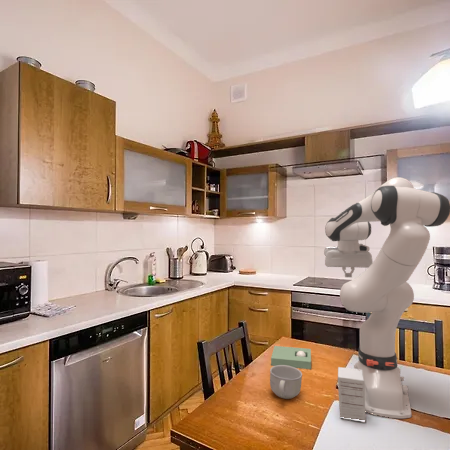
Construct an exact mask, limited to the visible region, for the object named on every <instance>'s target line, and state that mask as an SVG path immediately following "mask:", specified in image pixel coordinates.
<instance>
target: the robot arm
mask: <svg viewBox="0 0 450 450" xmlns="http://www.w3.org/2000/svg"><path fill="white" fill-rule="evenodd" d="M449 217H450V200H449V199H448V197H447V196H445V195H443V194H441V193H439V192H435V191H427V190H422V189H418V188H415V186H414V184H412V182H411V181H410V180H408V179H406V178H403V177H400V176H399V177H393V178H391V179H389V180H387V181H386V182H384V183H382V184H381V185H380V186H378V187H377V189H375V190H374V191H373V192H372V193H371V194H369V195H368V196H367V197H365V198H363V199H361V200H359V201H358V202H356V203H354V204H352V205H350V206H349V207H347V208H346V209H344V210H342V211H341V212H340V213H338V215H337V216H336V217H331V218H330V219H329V220H328V221H327V222H326V225H325V226H324V227H325V228H324V231H325V235H326V237H328V239H329V240H330V241H331V242H337V246H327V247H325V248H324V251H323V252H324V253H323V254H324V256H325V259H324V265H325V266H326V267H327V268H328V267H329V268H341V269H342V271H343V273H344V278H353V273H354V271H355V268H366V269H365V270H363V272H361V273H360V274H359V275H358V276H356V277H355V278H353V279H351V280H349V281H346V282H345V283H343V284H342V286H341V287H340V291H339V299H340V302H341V304H342V306H343V307H344V308H345V309H346V310H347V311H349V312H355V313H363V314H364V313H370V315H369V316H368V318H367V319H366V320H364V322H362V323H361V325H360V327H359V347H358V351H357V355H358V361H357V362H356V363H354V364H353V369H361V370H362V371H363V378H364V391H365V411H366V412H365V413H367V412H369V413H373V414H376V415H375V416H377V415H380V416H379V417H382V416H385V417H384V418H388V417H389V418H390V419H409V418H412V409H411V404H410V398H409V389H408V386H407V385H402V382H404V381H405V380H404V379H405V377H404V376H401V368H399V366H398V357H397V353H396V335H397V334H396V332H397V328H398V324H399V322H400V320H401V318H402V316H403V314H404V312H405V311H406V310H407V309H408V308H409V307H410V306H412V305H413V302H414V299H415V298H414V297H415V293H414V292H415V291H414V290H413V287H412V286H411V285H410V283H409V282H408V280H409V279H410V277H411V276H412V275H413V273H414V272H415V270H416V268H417V267H418V265H419V264H420V262H421V260H422V258H423V257H424V255H425V253H426V251H427V250H428V246H429V243H430V240H431V233H430V231H429V229H428V228H429V227H431V228H433V227H439V226H441V225H442V224H444V223H446V221H447V220H448V218H449ZM372 222H373V223H374V222H380V224H381V225H382V226H384V227H388V226H390V232H389V233H388V236H387V238H386V240H385V241H384V243H383V244H382V247H381V248H380V251H379V252H378V253H377V256H376V257H375V258H374V260H373V256H372V254H371V253H372V252H370V246H368V245H366V244H364V243H359V241H365V240H367V239H368V238H369V237H370V236H371V234H372V224H371V223H372ZM427 227H428V228H427ZM347 268H350V272H347V271H346V270H347ZM369 413H368V414H369ZM373 414H372V415H373Z"/></svg>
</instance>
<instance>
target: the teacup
mask: <svg viewBox="0 0 450 450" xmlns="http://www.w3.org/2000/svg"><path fill="white" fill-rule="evenodd" d="M269 373H270V375H269V385H270V389H271V391H272V392H273V393H274V395H276V396H277V397H279V398H281V399H286V400H291V399H293V398H295V397H297V396H298V395H299V394H300V393H301V390H302V389H301V388H302V380H303V379H302V378H303V373H302V371H301V370H300V369H299V368H294V367H291V366H287V365H277V366H272V367H270V369H269Z"/></svg>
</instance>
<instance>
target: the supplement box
mask: <svg viewBox="0 0 450 450" xmlns="http://www.w3.org/2000/svg"><path fill="white" fill-rule="evenodd" d="M337 384H338V385H337V388H338V407H339V418H340V417H344V418H351V419H359V420H365V421H366V422H367V415H366V413H367V412H365V391H364V378H363V371H362V370H361V369H354V368H352V367H351V368H350V367H340V366H338V367H337Z"/></svg>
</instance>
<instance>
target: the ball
mask: <svg viewBox="0 0 450 450" xmlns="http://www.w3.org/2000/svg"><path fill="white" fill-rule="evenodd" d="M296 356H300V357H306V354H305V353H304V352H303V351H298V352H297V354H296Z"/></svg>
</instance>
